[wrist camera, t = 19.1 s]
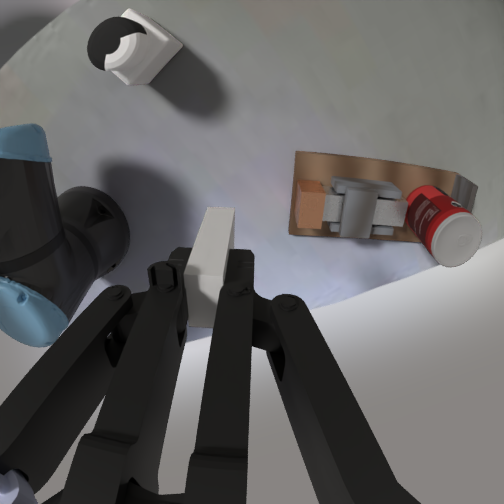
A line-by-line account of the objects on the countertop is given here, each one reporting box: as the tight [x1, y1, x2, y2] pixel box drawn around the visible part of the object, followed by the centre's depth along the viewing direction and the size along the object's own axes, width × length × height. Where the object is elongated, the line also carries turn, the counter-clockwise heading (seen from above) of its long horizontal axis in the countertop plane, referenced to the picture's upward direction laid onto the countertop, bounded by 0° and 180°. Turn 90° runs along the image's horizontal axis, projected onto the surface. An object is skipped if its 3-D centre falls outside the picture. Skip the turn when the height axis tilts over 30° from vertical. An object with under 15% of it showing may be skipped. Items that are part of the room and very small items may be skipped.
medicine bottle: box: [87, 9, 183, 86], centre depth 29 cm, size 7×7×12 cm
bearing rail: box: [288, 151, 478, 242], centre depth 42 cm, size 26×12×7 cm, turn 88°
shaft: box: [294, 180, 408, 229], centre depth 41 cm, size 15×5×5 cm, turn 88°
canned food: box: [405, 185, 482, 267], centre depth 39 cm, size 8×8×11 cm
